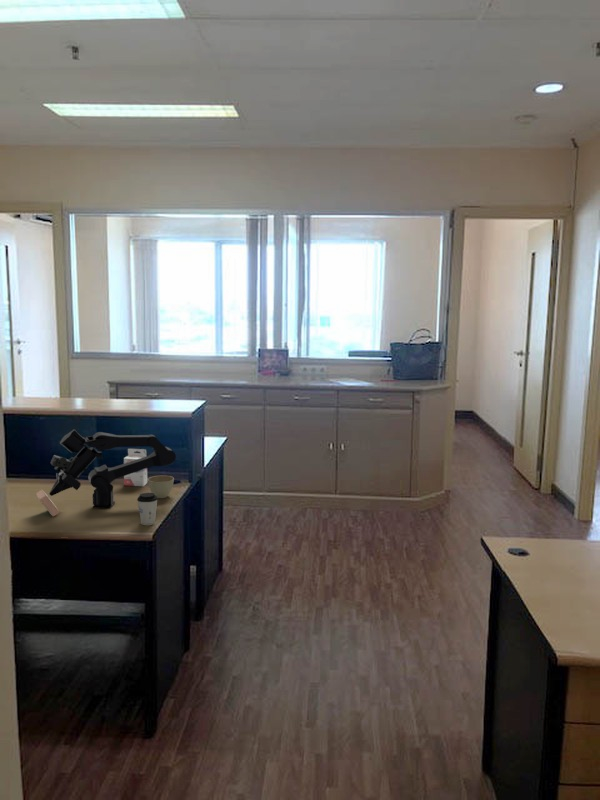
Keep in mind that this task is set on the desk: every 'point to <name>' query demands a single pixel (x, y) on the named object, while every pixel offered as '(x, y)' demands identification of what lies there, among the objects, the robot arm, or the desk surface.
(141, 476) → the ink cartridge box
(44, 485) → the desk surface
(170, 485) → the beige bowl
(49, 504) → the tile
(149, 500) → the coffee cup
